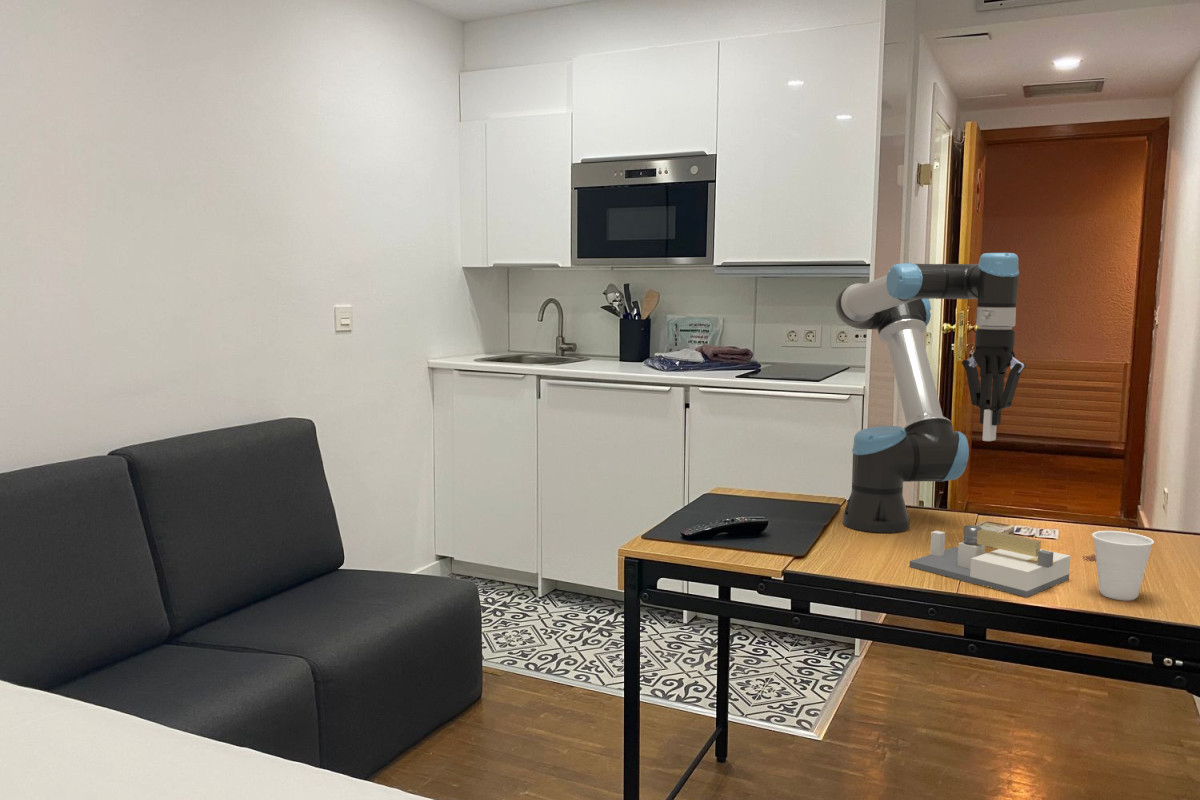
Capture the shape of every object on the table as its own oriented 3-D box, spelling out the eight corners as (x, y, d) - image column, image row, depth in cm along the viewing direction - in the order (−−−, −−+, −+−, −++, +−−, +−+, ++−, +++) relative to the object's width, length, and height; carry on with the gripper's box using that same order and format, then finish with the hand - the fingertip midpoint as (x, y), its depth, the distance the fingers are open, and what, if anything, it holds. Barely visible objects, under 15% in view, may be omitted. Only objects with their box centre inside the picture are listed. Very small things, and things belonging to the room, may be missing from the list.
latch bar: (960, 541, 182) (960, 527, 182) (968, 539, 184) (969, 524, 184) (1034, 558, 171) (1035, 542, 171) (1041, 555, 173) (1042, 539, 173)
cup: (1091, 600, 166) (1095, 541, 165) (1084, 584, 175) (1088, 528, 174) (1154, 607, 163) (1159, 547, 161) (1143, 590, 172) (1148, 533, 171)
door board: (909, 566, 186) (911, 531, 185) (954, 552, 197) (955, 518, 196) (1031, 599, 167) (1034, 559, 166) (1074, 580, 178) (1076, 543, 177)
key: (1073, 558, 195) (1098, 579, 181) (1073, 554, 195) (1098, 575, 181) (1103, 557, 194) (1130, 578, 180) (1103, 553, 194) (1130, 574, 180)
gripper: (956, 327, 194) (950, 438, 196) (1017, 329, 184) (1010, 446, 186) (975, 326, 198) (969, 434, 201) (1035, 328, 188) (1028, 442, 191)
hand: (989, 440), depth 194 cm, fingers closed
